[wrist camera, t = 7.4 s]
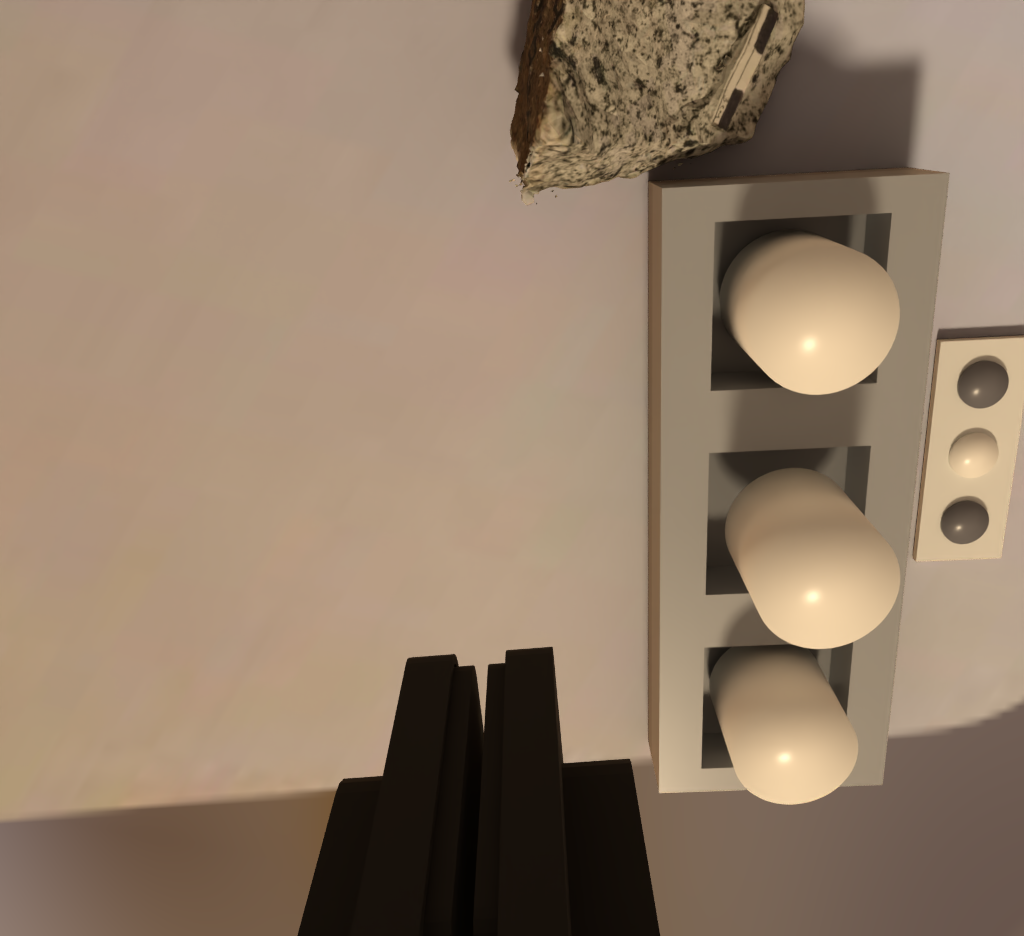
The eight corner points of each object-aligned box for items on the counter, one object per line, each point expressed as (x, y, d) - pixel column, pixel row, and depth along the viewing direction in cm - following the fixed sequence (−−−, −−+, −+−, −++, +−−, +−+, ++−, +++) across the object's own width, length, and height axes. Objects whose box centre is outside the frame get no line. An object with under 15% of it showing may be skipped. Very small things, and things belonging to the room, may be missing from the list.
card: (937, 339, 31) (943, 343, 30) (1029, 335, 31) (1036, 338, 30) (912, 557, 34) (917, 563, 33) (996, 554, 33) (1003, 560, 33)
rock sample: (854, 230, 26) (684, 99, 19) (627, 266, 31) (434, 173, 25) (879, -123, 27) (723, -360, 20) (654, -30, 32) (473, -195, 25)
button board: (648, 180, 29) (662, 188, 26) (907, 167, 29) (949, 173, 26) (648, 740, 36) (659, 793, 34) (854, 733, 36) (882, 784, 33)
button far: (710, 637, 33) (734, 704, 29) (823, 632, 33) (863, 698, 29) (708, 731, 34) (730, 806, 31) (817, 727, 34) (853, 802, 31)
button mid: (726, 470, 29) (757, 523, 25) (856, 465, 29) (907, 517, 25) (723, 585, 30) (751, 651, 27) (847, 580, 30) (893, 646, 26)
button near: (721, 232, 28) (752, 250, 24) (854, 225, 28) (906, 243, 24) (717, 362, 29) (746, 398, 26) (845, 356, 29) (892, 391, 26)
